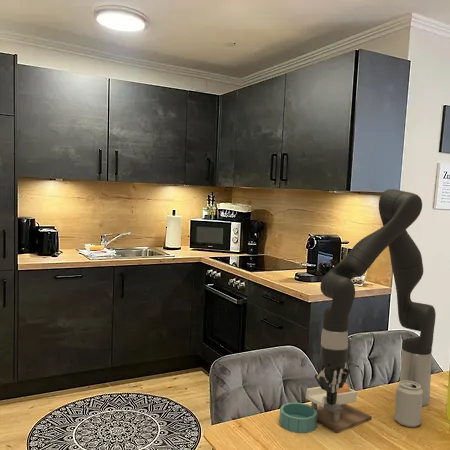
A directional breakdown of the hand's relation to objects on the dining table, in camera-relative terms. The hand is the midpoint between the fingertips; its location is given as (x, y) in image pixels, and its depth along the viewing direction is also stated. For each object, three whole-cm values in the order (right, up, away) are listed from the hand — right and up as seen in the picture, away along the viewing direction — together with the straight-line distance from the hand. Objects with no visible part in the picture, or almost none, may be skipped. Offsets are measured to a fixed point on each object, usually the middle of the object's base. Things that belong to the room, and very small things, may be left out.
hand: (331, 403), depth 133 cm
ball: (+6, 0, +11) cm, 13 cm away
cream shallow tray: (+3, -2, +7) cm, 8 cm away
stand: (+4, -8, +9) cm, 12 cm away
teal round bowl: (-9, -7, +4) cm, 12 cm away
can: (+25, -9, +7) cm, 27 cm away
